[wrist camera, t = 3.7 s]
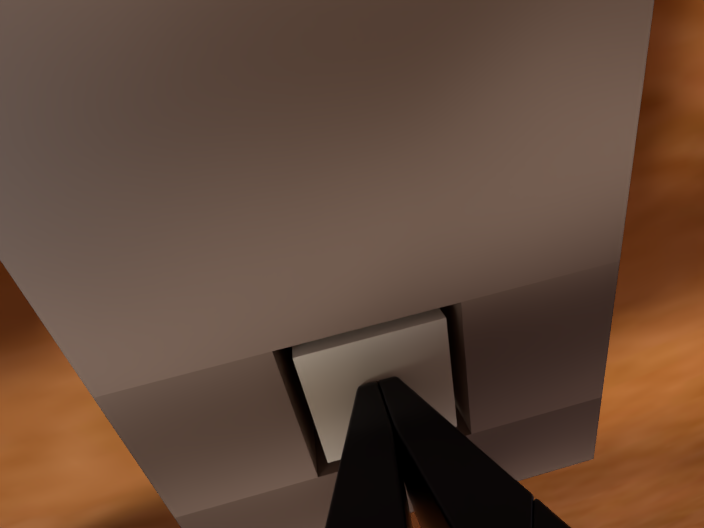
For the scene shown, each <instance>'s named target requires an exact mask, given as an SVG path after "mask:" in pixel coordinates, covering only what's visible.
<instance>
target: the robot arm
mask: <svg viewBox="0 0 704 528" xmlns="http://www.w3.org/2000/svg"><path fill="white" fill-rule="evenodd" d="M405 487H406V489H405ZM406 490H407V494H408V496H409V499H410V502H411V504H412V507H413V509H414V512H415V514H416V517H417V519H418V521H419V524H420V526H421V528H571V527H570V526H568V525H567V524H566V523H565V522H564V521H562V520H561V519H560V518H559V517H558V516H557V515H555V514H554V513H553V512H552V511H551V510H550V509H549V508H548V507H546V506H545V505H544V504H543V503H542V502H541V501H540V500H538V499H535V500H534V496H533V495H532V494H531V493H530V492H529V491H528V490H527V489H526V488H524V487H523V486H522V485H521V484H520V483H519V482H518V481H516V480H515V479H514V478H513V477H512V476H511V475H510V474H508V473H507V472H506V471H505V470H504V469H503V468H502V467H500V466H499V465H498V464H497V463H496V462H495V461H494V460H492V459H491V458H490V457H489V456H488V455H487V454H486V453H484V452H483V451H482V450H481V449H480V448H479V447H478V446H476V445H475V444H474V443H473V442H472V441H471V440H470V439H468V438H467V437H466V436H465V435H464V434H463V433H462V432H460V431H459V430H458V429H457V428H456V427H455V426H454V425H452V424H451V423H450V422H449V421H448V420H447V419H446V418H444V417H443V416H442V415H441V414H440V413H439V412H438V411H436V410H435V409H434V408H433V407H432V406H431V405H430V404H428V403H427V402H426V401H425V400H424V399H423V398H422V397H420V396H419V395H418V394H417V393H416V392H415V391H414V390H412V389H411V388H410V387H409V386H408V385H407V384H406V383H404V382H403V381H402V380H401V379H400V378H399V377H396V376H393V377H390V378H386V379H382V380H380V381H379V382H378V383H377V382H371V383H367V384H364V385H360V386H359V387H358V388H357V391H356V395H355V400H354V404H353V408H352V413H351V417H350V421H349V425H348V430H347V434H346V438H345V443H344V447H343V451H342V456H341V460H340V464H339V469H338V473H337V477H336V482H335V486H334V490H333V494H332V499H331V503H330V507H329V512H328V516H327V520H326V525H325V528H413V527H412V521H411V515H410V509H409V504H408V499H407V494H406Z"/></svg>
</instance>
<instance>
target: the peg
mask: <svg viewBox="0 0 704 528" xmlns="http://www.w3.org/2000/svg"><path fill="white" fill-rule="evenodd" d="M292 358H293V361H294V364H295V367H296V370H297V373H298V376H299V379H300V382H301V385H302V388H303V391H304V394H305V397H306V400H307V403H308V406H309V408H310V411H311V414H312V417H313V420H314V423H315V426H316V429H317V432H318V435H319V438H320V441H321V444H322V447H323V450H324V453H325V456H326V459H327V462H328V463H329V462H333V461H337V460H340V459H341V456H342V451H343V447H344V443H345V438H346V434H347V430H348V425H349V421H350V417H351V413H352V408H353V404H354V400H355V395H356V391H357V388H358V387H359V386H360V385H364V384H367V383H371V382H377V383H378V382H379V381H380V380H382V379H386V378H390V377H393V376H396V377H399V378H400V379H401V380H402V381H403V382H404V383H406V384H407V385H408V386H409V387H410V388H411V389H412V390H414V391H415V392H416V393H417V394H418V395H419V396H420V397H422V398H423V399H424V400H425V401H426V402H427V403H428V404H430V405H431V406H432V407H433V408H434V409H435V410H436V411H438V412H439V413H440V414H441V415H442V416H443V417H444V418H446V419H447V420H448V421H449V422H450V423H451V424H452V425H454V426H455V427H457V420H456V410H455V400H454V390H453V380H452V370H451V361H450V351H449V341H448V331H447V321H446V317H445V316H444V314H443V313H442V311H441V310H440V308H437V309H433V310H429V311H425V312H422V313H418V314H414V315H410V316H406V317H402V318H398V319H395V320H391V321H387V322H383V323H379V324H375V325H372V326H368V327H364V328H360V329H356V330H352V331H348V332H345V333H341V334H337V335H333V336H329V337H325V338H322V339H318V340H314V341H310V342H306V343H302V344H299V345H295V346H292Z"/></svg>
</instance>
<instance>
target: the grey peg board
mask: <svg viewBox="0 0 704 528" xmlns="http://www.w3.org/2000/svg"><path fill="white" fill-rule="evenodd" d="M653 7H654V0H0V261H1V262H2V263H3V265H4V266H5V268H6V269H7V271H8V272H9V274H10V275H11V277H12V278H13V280H14V281H15V283H16V284H17V286H18V287H19V289H20V290H21V292H22V293H23V295H24V296H25V298H26V299H27V300H28V302H29V303H30V305H31V306H32V308H33V309H34V311H35V312H36V314H37V315H38V317H39V318H40V320H41V321H42V323H43V324H44V326H45V327H46V329H47V330H48V332H49V333H50V334H51V336H52V337H53V339H54V340H55V342H56V343H57V345H58V346H59V348H60V349H61V351H62V352H63V354H64V355H65V357H66V358H67V360H68V361H69V363H70V364H71V366H72V367H73V369H74V370H75V371H76V373H77V374H78V376H79V377H80V379H81V380H82V382H83V383H84V385H85V386H86V388H87V389H88V391H89V392H90V394H91V395H92V397H93V398H94V400H95V401H96V403H97V404H98V405H99V407H100V408H101V410H102V411H103V413H104V414H105V416H106V417H107V419H108V420H109V422H110V423H111V425H112V426H113V428H114V429H115V431H116V432H117V434H118V435H119V437H120V438H121V440H122V441H123V442H124V444H125V445H126V447H127V448H128V450H129V451H130V453H131V454H132V456H133V457H134V459H135V460H136V462H137V463H138V465H139V466H140V468H141V469H142V471H143V472H144V474H145V475H146V476H147V478H148V479H149V481H150V482H151V484H152V485H153V487H154V488H155V490H156V491H157V493H158V494H159V496H160V497H161V499H162V500H163V502H164V503H165V505H166V506H167V508H168V509H169V511H170V512H171V513H172V515H173V516H174V518H175V519H176V521H177V522H178V524H179V525H180V527H181V528H325V525H326V520H327V516H328V512H329V507H330V503H331V499H332V494H333V490H334V486H335V482H336V477H337V473H338V469H339V464H340V460H341V459H340V460H337V461H333V462H329V463H328V462H327V459H326V456H325V453H324V450H323V447H322V444H321V441H320V438H319V435H318V432H317V429H316V426H315V423H314V420H313V417H312V414H311V411H310V408H309V406H308V403H307V400H306V397H305V394H304V391H303V388H302V385H301V382H300V379H299V376H298V373H297V370H296V367H295V364H294V361H293V358H292V346H295V345H299V344H302V343H306V342H310V341H314V340H318V339H322V338H325V337H329V336H333V335H337V334H341V333H345V332H348V331H352V330H356V329H360V328H364V327H368V326H372V325H375V324H379V323H383V322H387V321H391V320H395V319H398V318H402V317H406V316H410V315H414V314H418V313H422V312H425V311H429V310H433V309H437V308H440V310H441V311H442V313H443V314H444V316H445V317H446V321H447V331H448V341H449V351H450V361H451V370H452V380H453V390H454V400H455V410H456V420H457V427H456V428H457V429H458V430H459V431H460V432H462V433H463V434H464V435H465V436H466V437H467V438H468V439H470V440H471V441H472V442H473V443H474V444H475V445H476V446H478V447H479V448H480V449H481V450H482V451H483V452H484V453H486V454H487V455H488V456H489V457H490V458H491V459H492V460H494V461H495V462H496V463H497V464H498V465H499V466H500V467H502V468H503V469H504V470H505V471H506V472H507V473H508V474H510V475H511V476H512V477H513V478H514V479H515V480H516V481H520V480H523V479H527V478H530V477H533V476H537V475H540V474H544V473H547V472H550V471H554V470H557V469H561V468H564V467H567V466H571V465H574V464H578V463H581V462H584V461H588V460H591V459H594V451H595V443H596V436H597V428H598V421H599V413H600V406H601V398H602V391H603V383H604V376H605V368H606V361H607V353H608V346H609V338H610V331H611V323H612V316H613V308H614V300H615V293H616V285H617V278H618V270H619V263H620V255H621V248H622V240H623V233H624V225H625V218H626V210H627V203H628V195H629V188H630V180H631V173H632V165H633V157H634V150H635V142H636V135H637V127H638V120H639V112H640V105H641V97H642V90H643V82H644V75H645V67H646V60H647V52H648V45H649V37H650V29H651V22H652V14H653ZM405 489H406V487H405ZM406 494H407V490H406ZM407 499H408V504H409V509H410V513H411V512H414V509H413V507H412V504H411V502H410V499H409V496H408V494H407Z"/></svg>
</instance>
